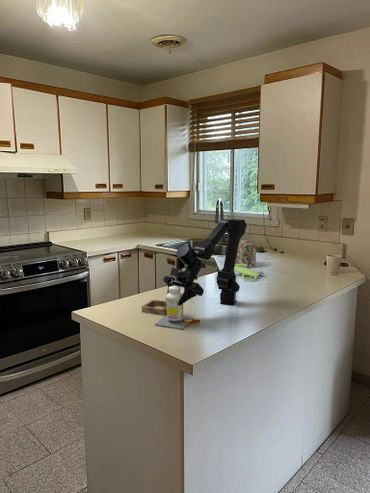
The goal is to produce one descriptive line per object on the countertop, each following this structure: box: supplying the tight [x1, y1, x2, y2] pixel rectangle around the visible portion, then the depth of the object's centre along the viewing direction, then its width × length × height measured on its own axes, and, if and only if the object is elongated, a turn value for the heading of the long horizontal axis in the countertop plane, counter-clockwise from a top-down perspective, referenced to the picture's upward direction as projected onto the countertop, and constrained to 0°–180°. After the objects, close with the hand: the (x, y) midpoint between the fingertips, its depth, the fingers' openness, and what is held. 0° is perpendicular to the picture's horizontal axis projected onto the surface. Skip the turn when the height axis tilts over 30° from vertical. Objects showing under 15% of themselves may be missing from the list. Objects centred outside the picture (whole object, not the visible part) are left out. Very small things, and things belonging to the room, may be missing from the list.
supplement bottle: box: [165, 286, 184, 321], centre depth 149 cm, size 7×7×13 cm
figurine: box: [234, 264, 265, 283], centre depth 225 cm, size 18×27×6 cm
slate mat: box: [154, 314, 195, 331], centre depth 150 cm, size 12×12×1 cm
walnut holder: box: [141, 299, 167, 316], centre depth 165 cm, size 11×11×2 cm
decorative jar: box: [235, 239, 257, 269], centre depth 248 cm, size 12×12×18 cm
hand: (172, 303), depth 148 cm, fingers closed on supplement bottle, 7 cm apart
